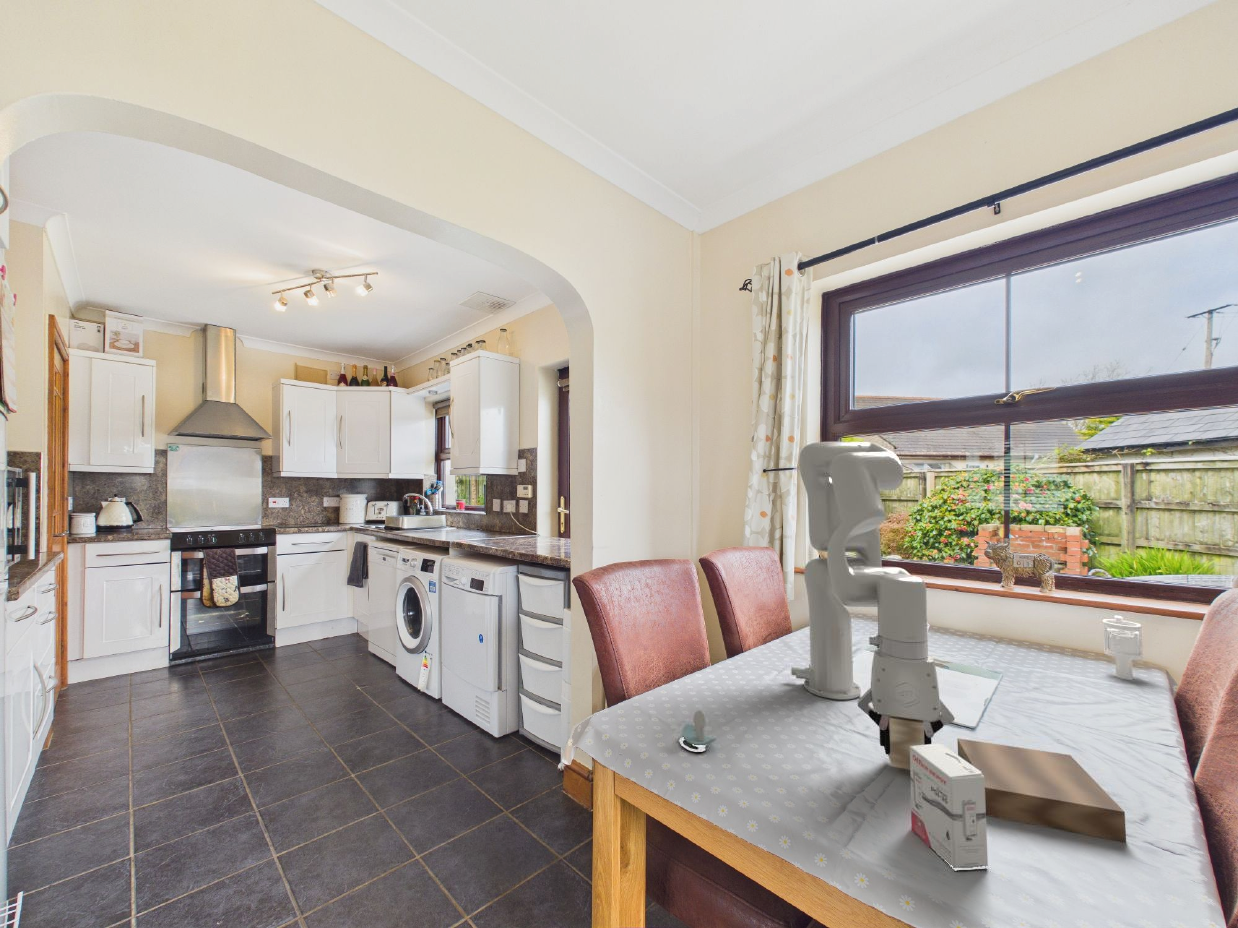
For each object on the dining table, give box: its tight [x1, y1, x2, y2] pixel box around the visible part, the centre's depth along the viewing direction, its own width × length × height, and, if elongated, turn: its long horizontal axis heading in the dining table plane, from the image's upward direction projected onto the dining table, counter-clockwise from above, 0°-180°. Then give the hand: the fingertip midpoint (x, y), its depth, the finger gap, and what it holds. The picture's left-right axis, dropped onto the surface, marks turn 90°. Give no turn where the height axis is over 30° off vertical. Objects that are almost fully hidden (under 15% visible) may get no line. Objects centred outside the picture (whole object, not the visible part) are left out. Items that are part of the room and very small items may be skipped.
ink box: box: [909, 743, 989, 868], centre depth 68 cm, size 9×5×12 cm, turn 5°
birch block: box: [887, 716, 924, 770], centre depth 87 cm, size 5×5×8 cm
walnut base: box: [956, 737, 1127, 843], centre depth 80 cm, size 16×16×4 cm
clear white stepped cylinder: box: [1102, 615, 1144, 681], centre depth 130 cm, size 7×7×15 cm
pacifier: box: [681, 709, 717, 745], centre depth 96 cm, size 7×6×6 cm
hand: (905, 752), depth 87 cm, fingers closed on birch block, 5 cm apart
